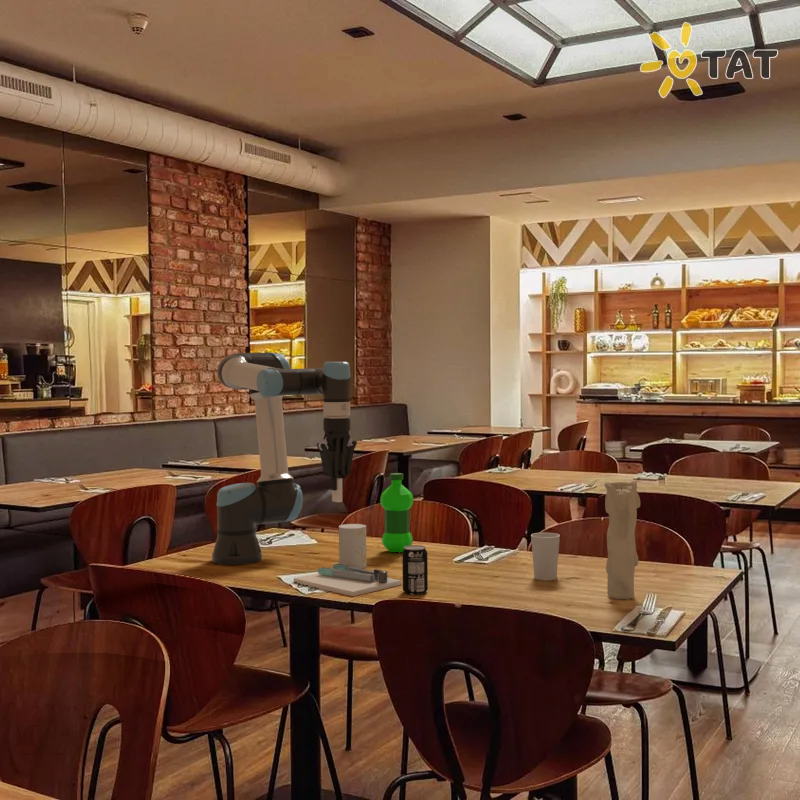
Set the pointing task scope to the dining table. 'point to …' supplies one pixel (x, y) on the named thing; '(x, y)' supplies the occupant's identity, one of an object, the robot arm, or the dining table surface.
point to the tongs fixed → (378, 574)
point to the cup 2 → (545, 555)
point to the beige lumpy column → (621, 538)
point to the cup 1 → (352, 545)
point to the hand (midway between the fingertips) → (337, 501)
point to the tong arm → (346, 574)
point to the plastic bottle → (396, 515)
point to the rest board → (345, 584)
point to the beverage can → (415, 570)
